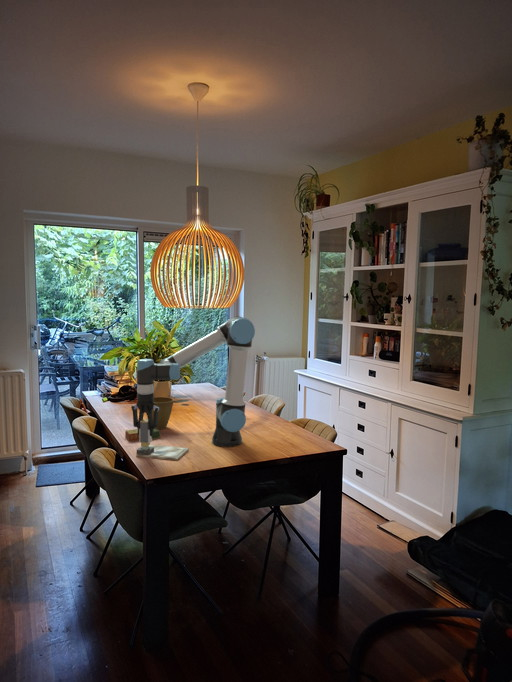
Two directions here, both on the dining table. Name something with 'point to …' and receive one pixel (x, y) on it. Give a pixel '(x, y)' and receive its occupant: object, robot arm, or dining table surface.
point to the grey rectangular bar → (144, 432)
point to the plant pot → (163, 410)
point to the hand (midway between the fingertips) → (145, 442)
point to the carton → (133, 435)
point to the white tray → (162, 452)
